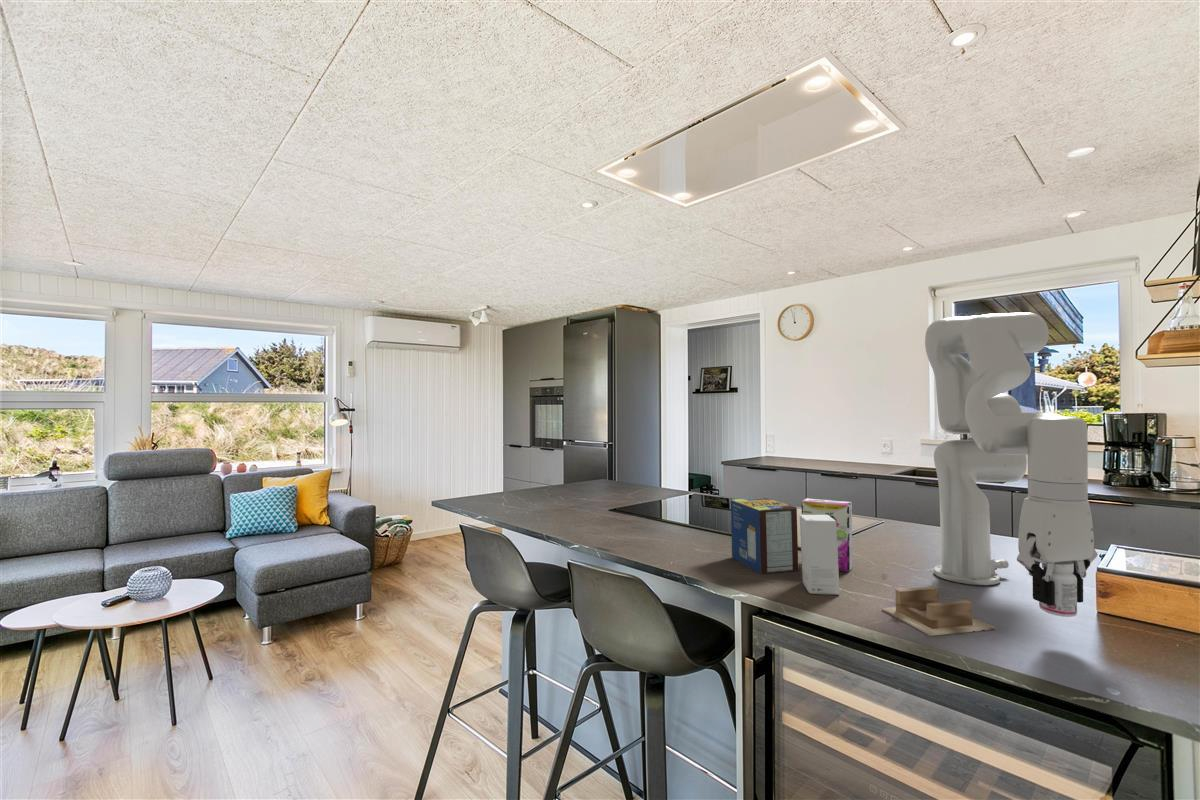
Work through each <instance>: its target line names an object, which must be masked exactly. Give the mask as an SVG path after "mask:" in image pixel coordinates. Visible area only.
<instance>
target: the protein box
mask: <svg viewBox="0 0 1200 800" xmlns="http://www.w3.org/2000/svg"><path fill="white" fill-rule="evenodd" d="M797 512H798V507H797V506H794V505H791V504H787V503H783V502H780V501H776V500H773V499H770V498H766V497H758V498H755V497H753V498H738V499H736V498H735V499H730V516H731V517H730V524H731V525H730V526H731V527H730V528H731V530H730V531H731V558H732V557H733V558H732V559H735V560H736V561H737V560H738V561H737V562H739V561H740V562H739V563H741V564H742V563H743V564H742V565H744V564H745V565H744V566H746V567H748V568H749V567H750V568H749V569H751V570H752V571H754V570H755V571H754V572H756V573H758V574H759V573H760V574H761V575H763V573H765V574H775V573H776V574H777V573H785V572H786V573H787V572H796V571H797V572H798V571H799V553H798V552H799V549H798V548H799V546H798V545H799V544H798V543H799V541H798V538H799V537H798V513H797Z"/></svg>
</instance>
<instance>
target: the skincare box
mask: <svg viewBox="0 0 1200 800" xmlns="http://www.w3.org/2000/svg"><path fill="white" fill-rule="evenodd" d="M799 527H800V528H799V530H800V531H799V533H800V548H801V549H800V550H801V551H800V553H801V572H802V573H801V575H802V576H801V577H802V583H803V585H804V587H805V589H806V591H807V592H808V593H809V594H812V595H813V594H814V595H833V596H837V595H838V596H839V595H840V575H839V573H840V571H839V570H838V548H837V527H836V521H835V520H834V519H832V518H831V517H830V516H829V515H802V514H799Z"/></svg>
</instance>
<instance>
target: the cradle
mask: <svg viewBox="0 0 1200 800" xmlns="http://www.w3.org/2000/svg"><path fill="white" fill-rule="evenodd" d="M938 590H939V588H937V587H935V586H923V587H912V588H911V587H909V588H900V589H899V588H898V589H897V588H896V589H895V606H890V607H882V608H881V611H883V612H884V613H886V614H888V615H890V616H892V617H894V618H896V619H897V618H898V619H897V620H900V621H902V622H903V623H905V624H907V625H909V626H911V627H913V628H915V629H917V630H919V631H921V632H922V633H924V634H926V635H928V636H931V637H932V636H941V635H951V634H952V635H953V634H962V633H963V634H964V633H972V632H973V631H975V632H982V630H985V631H991V630H990V629H995V630H996V627H995V626H993V625H991V624H988V623H986V622H984V621H981V620H979V619H977V618H975V617H973V602H971V601H969V600H967V599H965V600H964V599H963V600H955V601H954V600H953V601H942V602H939V591H938Z"/></svg>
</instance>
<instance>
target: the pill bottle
mask: <svg viewBox="0 0 1200 800" xmlns="http://www.w3.org/2000/svg"><path fill="white" fill-rule="evenodd" d="M1044 565H1045V564H1043V563H1041V568H1042V569H1044ZM1073 572H1074V564H1073V563H1072V562H1059V563H1054V568H1053V572H1052V577H1051V581H1054V583H1055V604H1054V605H1052V606H1049V605H1047V604H1044V603H1042V602H1039V601H1038V602H1039V603H1038V604H1039V605H1038V606H1039V609H1040V610H1042V611H1043V612H1045V613H1046V614H1049V615H1053V616H1057V617H1065V618H1066V617H1067V618H1071V617H1076V616H1077V615H1078V602H1077V578H1076V576H1075V575H1074V574H1072V573H1073Z"/></svg>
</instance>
